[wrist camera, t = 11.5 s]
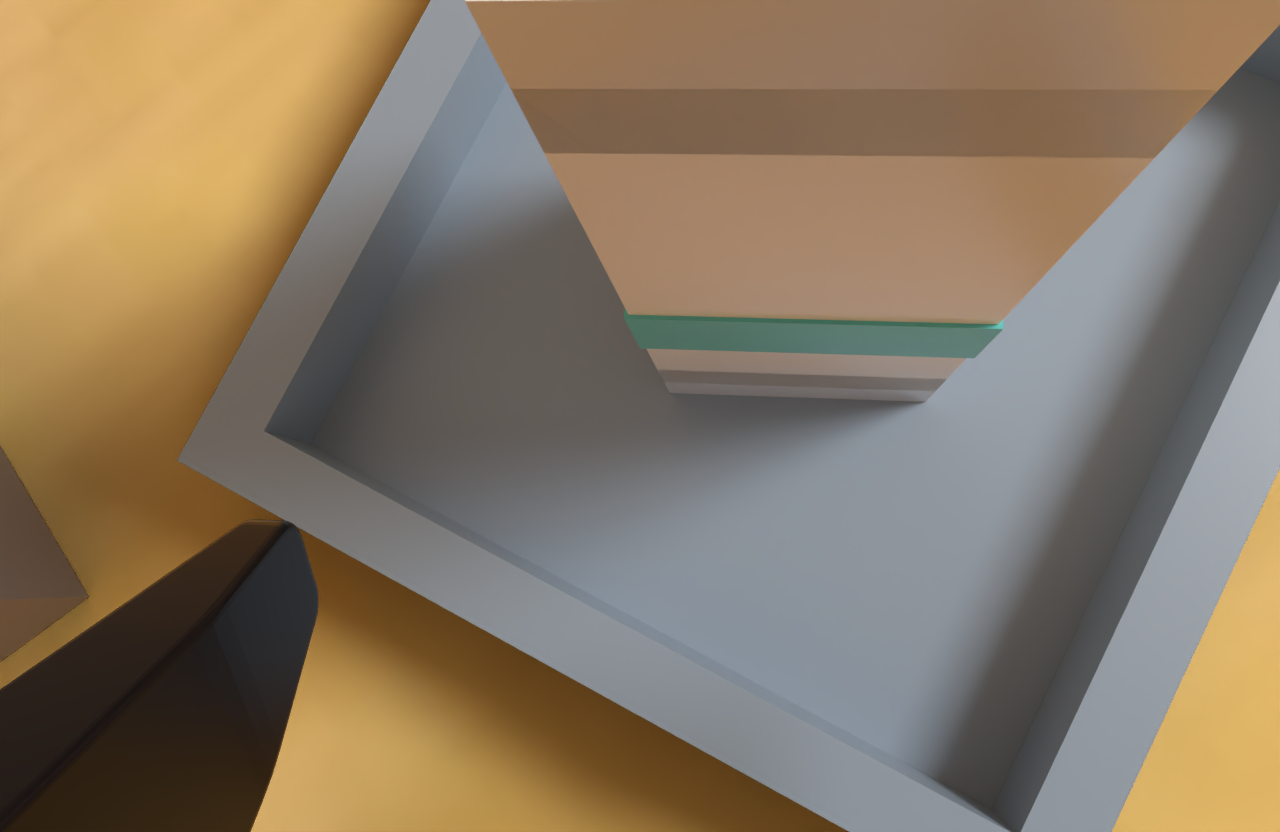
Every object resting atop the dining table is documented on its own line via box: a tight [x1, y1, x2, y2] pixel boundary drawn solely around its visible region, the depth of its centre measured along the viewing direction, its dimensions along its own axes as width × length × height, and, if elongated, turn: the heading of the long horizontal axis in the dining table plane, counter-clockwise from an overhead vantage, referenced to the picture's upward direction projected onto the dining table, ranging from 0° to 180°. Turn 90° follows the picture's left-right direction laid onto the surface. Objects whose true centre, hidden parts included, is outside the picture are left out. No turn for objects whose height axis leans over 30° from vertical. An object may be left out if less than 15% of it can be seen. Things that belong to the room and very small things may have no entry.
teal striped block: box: [465, 0, 1280, 402], centre depth 11 cm, size 4×4×12 cm
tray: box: [177, 0, 1280, 832], centre depth 17 cm, size 14×14×2 cm
